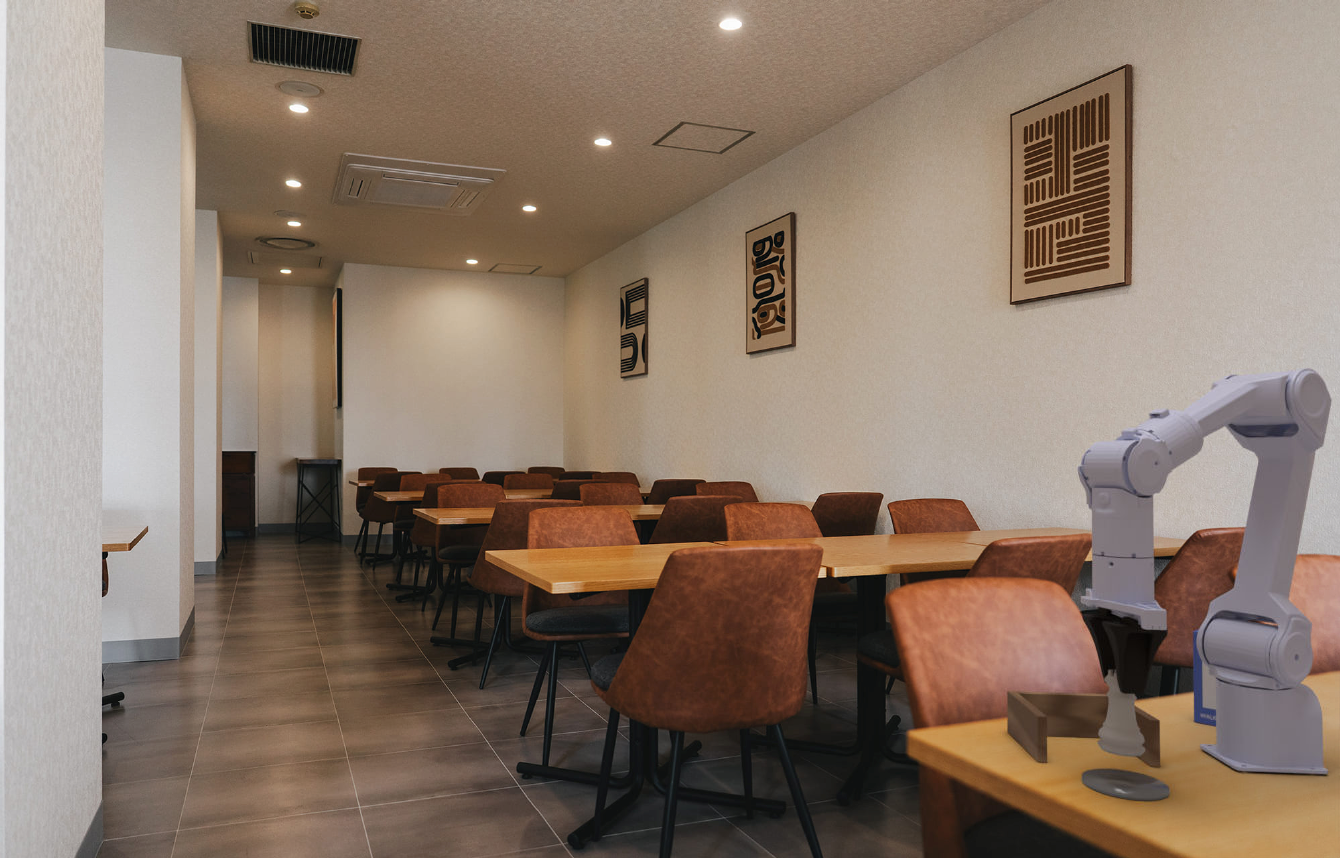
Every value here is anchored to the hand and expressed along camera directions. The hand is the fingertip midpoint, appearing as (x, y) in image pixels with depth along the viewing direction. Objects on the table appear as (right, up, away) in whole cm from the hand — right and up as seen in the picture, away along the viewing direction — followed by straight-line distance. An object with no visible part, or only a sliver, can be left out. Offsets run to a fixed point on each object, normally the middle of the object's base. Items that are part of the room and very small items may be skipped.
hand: (1123, 688), depth 91 cm
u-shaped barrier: (+1, -10, +11) cm, 16 cm away
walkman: (+25, -11, +21) cm, 34 cm away
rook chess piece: (0, -7, 0) cm, 7 cm away
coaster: (0, -10, 0) cm, 10 cm away
